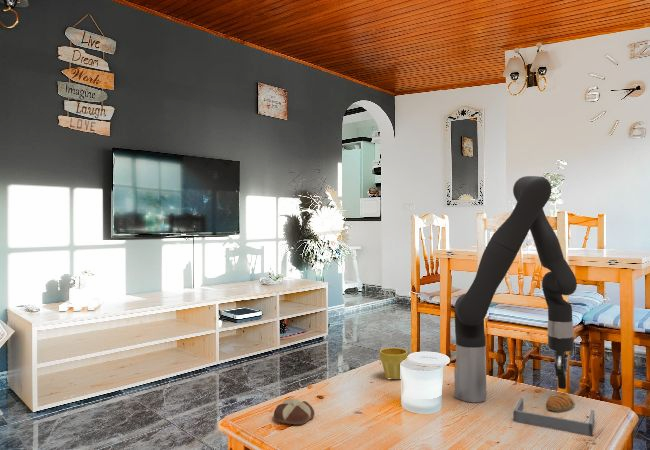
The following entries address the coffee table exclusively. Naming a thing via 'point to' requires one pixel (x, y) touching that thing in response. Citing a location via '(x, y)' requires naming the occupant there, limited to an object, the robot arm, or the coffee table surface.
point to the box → (553, 421)
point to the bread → (293, 412)
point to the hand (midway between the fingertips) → (562, 388)
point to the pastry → (560, 402)
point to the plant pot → (392, 361)
